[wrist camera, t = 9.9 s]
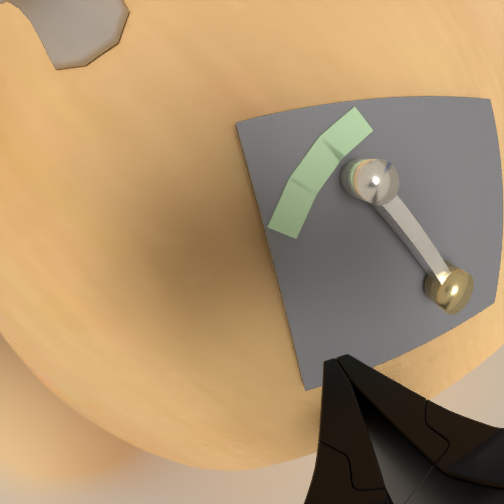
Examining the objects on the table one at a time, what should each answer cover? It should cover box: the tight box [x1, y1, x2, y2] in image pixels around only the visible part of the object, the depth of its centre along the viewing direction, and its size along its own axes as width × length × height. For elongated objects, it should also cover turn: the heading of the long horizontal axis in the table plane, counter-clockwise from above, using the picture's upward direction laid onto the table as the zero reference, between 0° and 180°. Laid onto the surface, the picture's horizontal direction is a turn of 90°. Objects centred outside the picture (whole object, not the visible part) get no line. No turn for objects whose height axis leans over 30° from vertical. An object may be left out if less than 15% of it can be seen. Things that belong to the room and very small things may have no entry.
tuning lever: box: [341, 158, 474, 315], centre depth 17 cm, size 15×4×3 cm, turn 50°
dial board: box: [235, 96, 503, 391], centre depth 19 cm, size 22×24×1 cm
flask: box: [0, 0, 129, 70], centre depth 8 cm, size 7×7×10 cm
